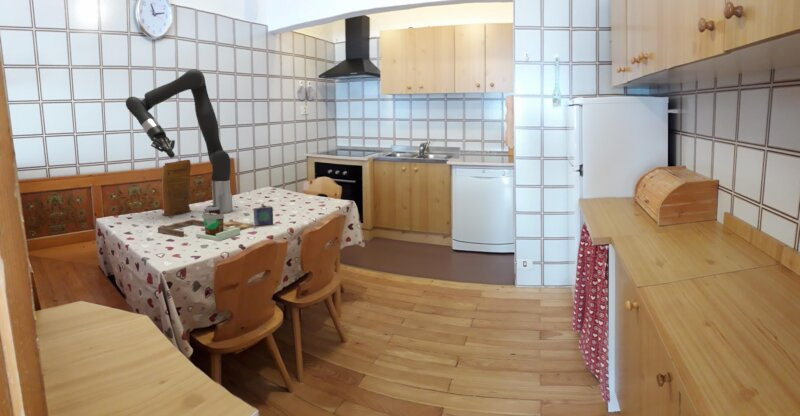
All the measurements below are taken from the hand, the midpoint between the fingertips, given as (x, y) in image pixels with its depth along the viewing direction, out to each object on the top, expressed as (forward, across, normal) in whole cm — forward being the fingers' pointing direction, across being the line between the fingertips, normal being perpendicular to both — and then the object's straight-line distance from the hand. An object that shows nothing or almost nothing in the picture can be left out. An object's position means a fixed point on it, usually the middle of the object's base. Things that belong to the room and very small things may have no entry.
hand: (172, 156), depth 251 cm
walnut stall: (+37, -11, +8) cm, 39 cm away
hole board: (+46, +3, -1) cm, 47 cm away
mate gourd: (+35, +7, +10) cm, 37 cm away
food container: (+48, -11, -2) cm, 49 cm away
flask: (+53, +14, -8) cm, 56 cm away
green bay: (+50, -11, -5) cm, 51 cm away
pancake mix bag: (+14, +11, +31) cm, 36 cm away
